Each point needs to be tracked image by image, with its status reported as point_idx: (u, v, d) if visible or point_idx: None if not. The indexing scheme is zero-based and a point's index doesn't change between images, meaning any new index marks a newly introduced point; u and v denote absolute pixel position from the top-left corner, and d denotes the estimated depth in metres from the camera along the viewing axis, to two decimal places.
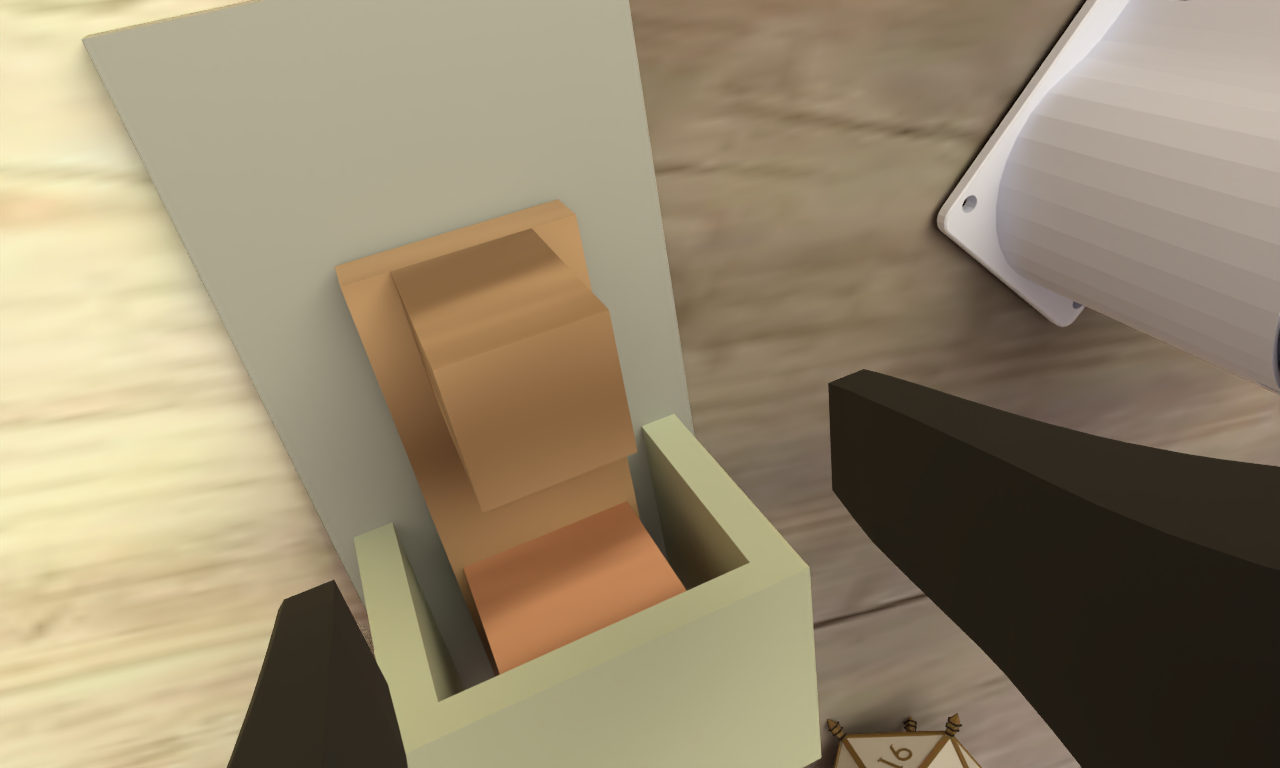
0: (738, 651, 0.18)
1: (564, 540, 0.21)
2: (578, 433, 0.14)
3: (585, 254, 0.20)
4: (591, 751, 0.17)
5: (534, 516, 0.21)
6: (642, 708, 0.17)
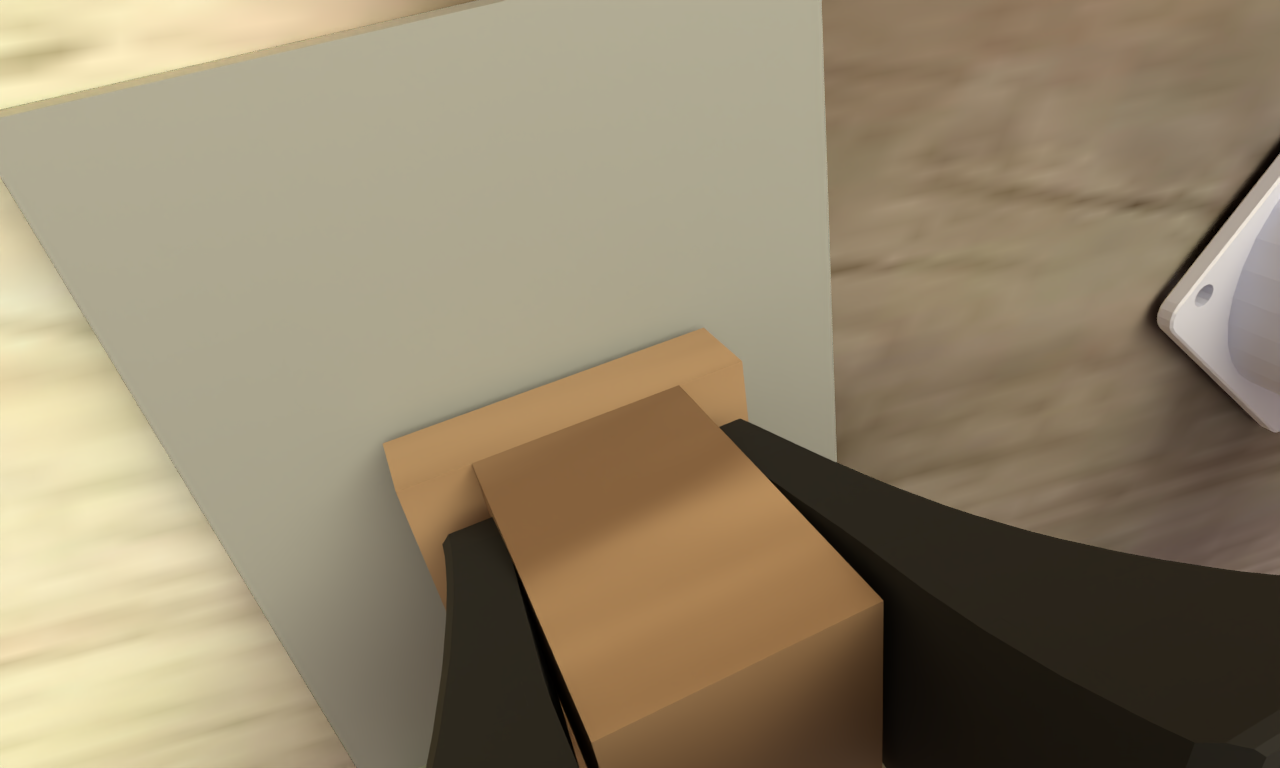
0: None
1: None
2: None
3: None
4: None
5: None
6: None
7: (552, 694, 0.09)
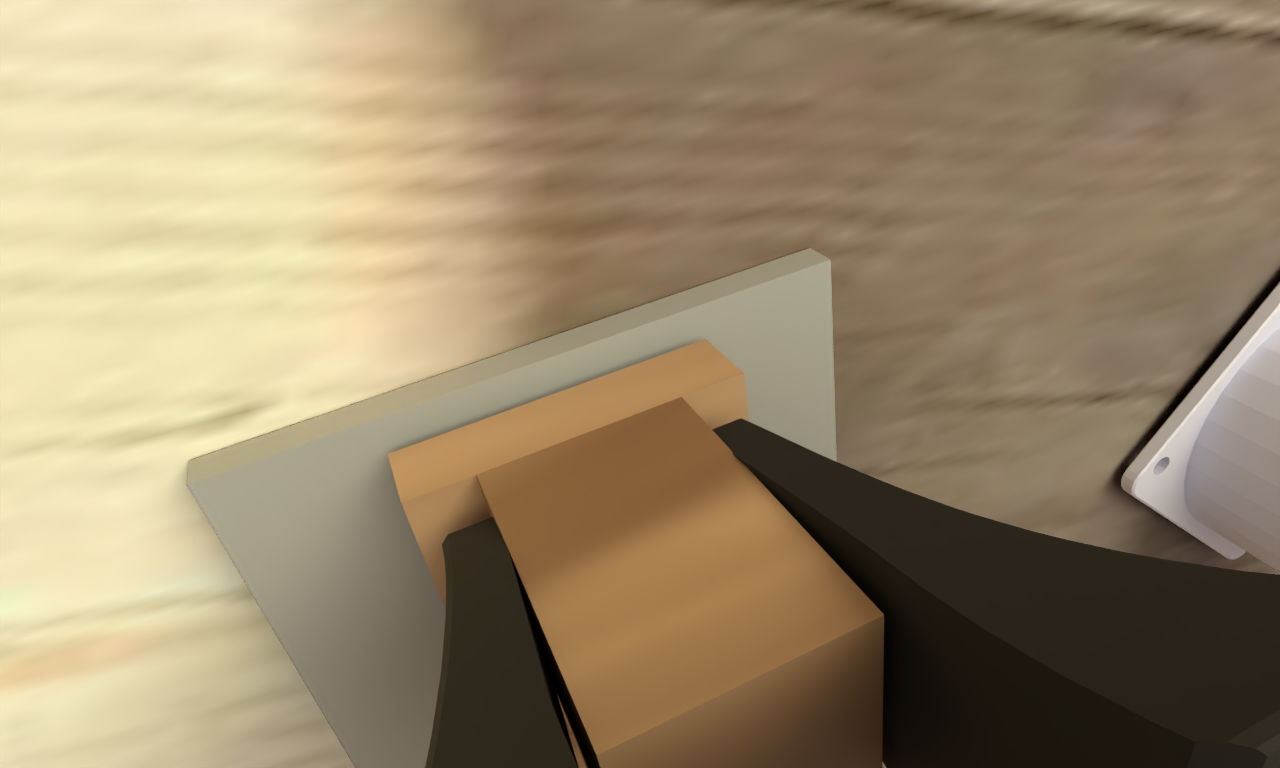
0: None
1: None
2: None
3: None
4: None
5: None
6: None
7: (551, 694, 0.09)
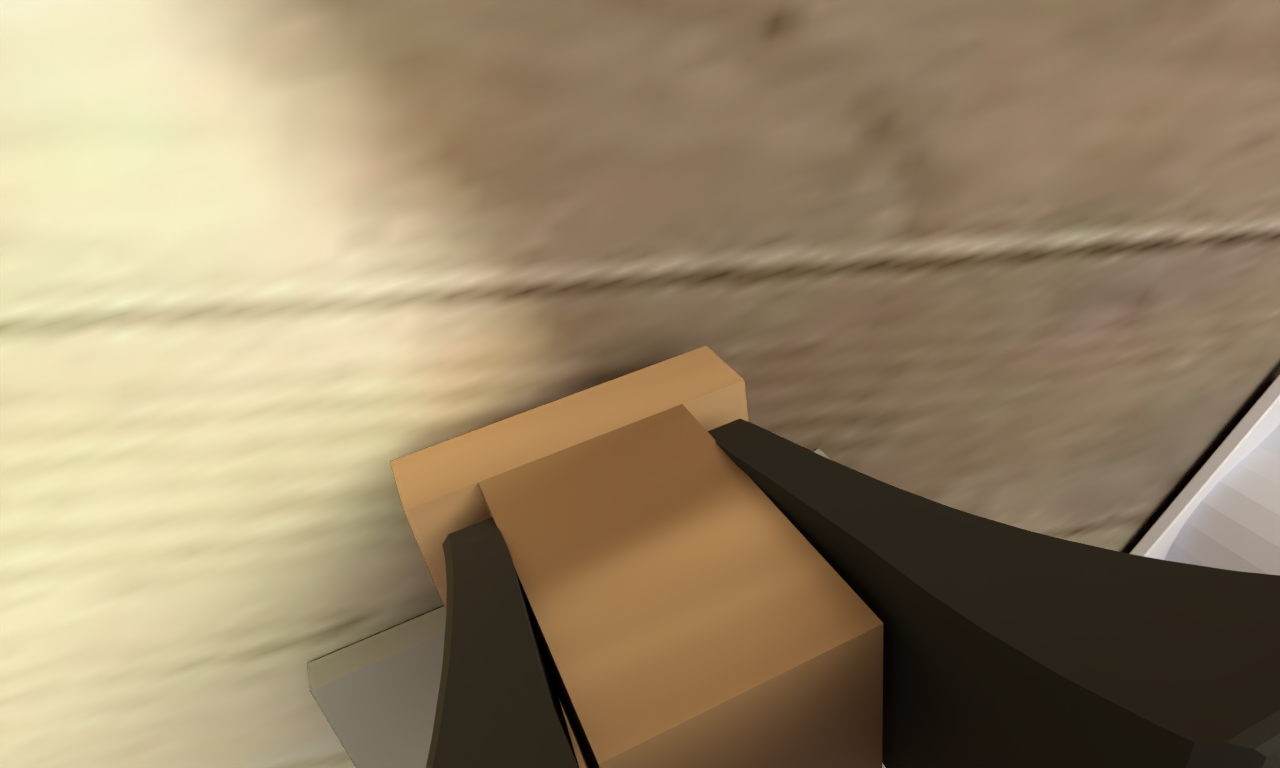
0: None
1: None
2: None
3: None
4: None
5: None
6: None
7: (552, 694, 0.09)
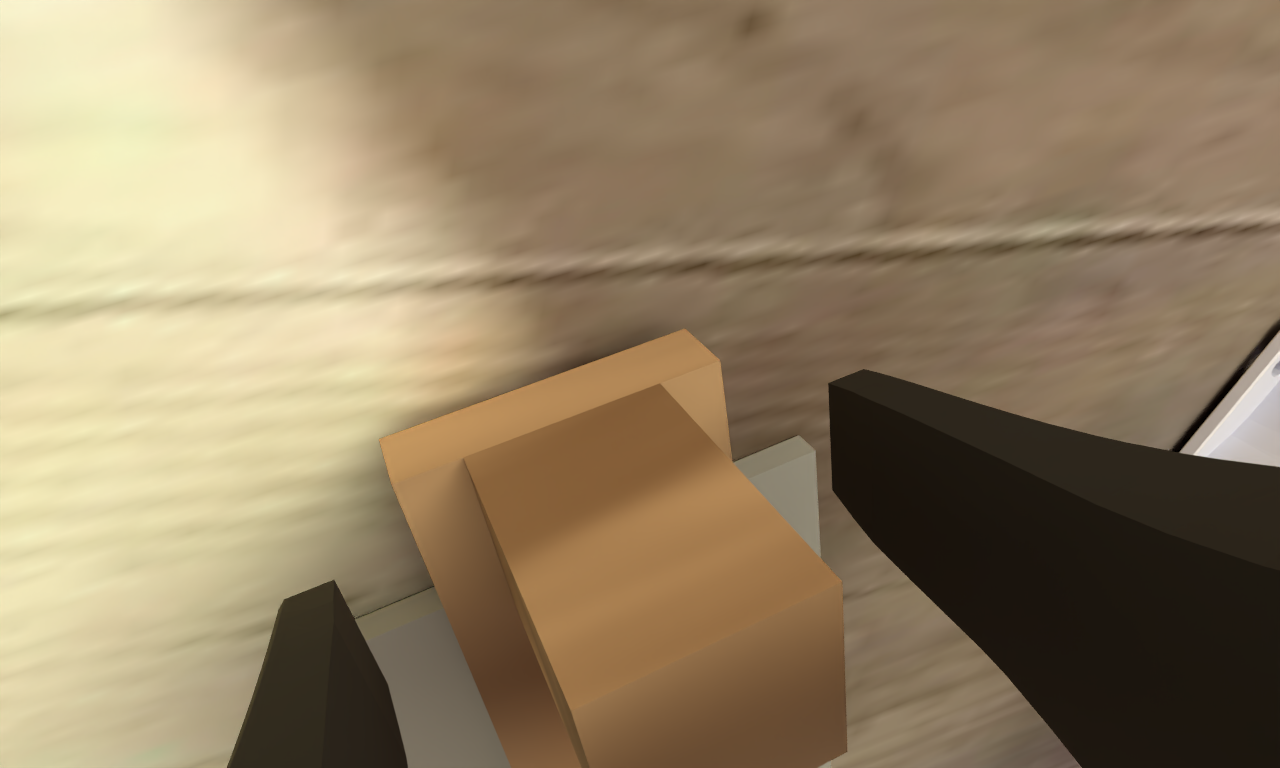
0: None
1: None
2: (772, 747, 0.09)
3: None
4: None
5: None
6: None
7: None
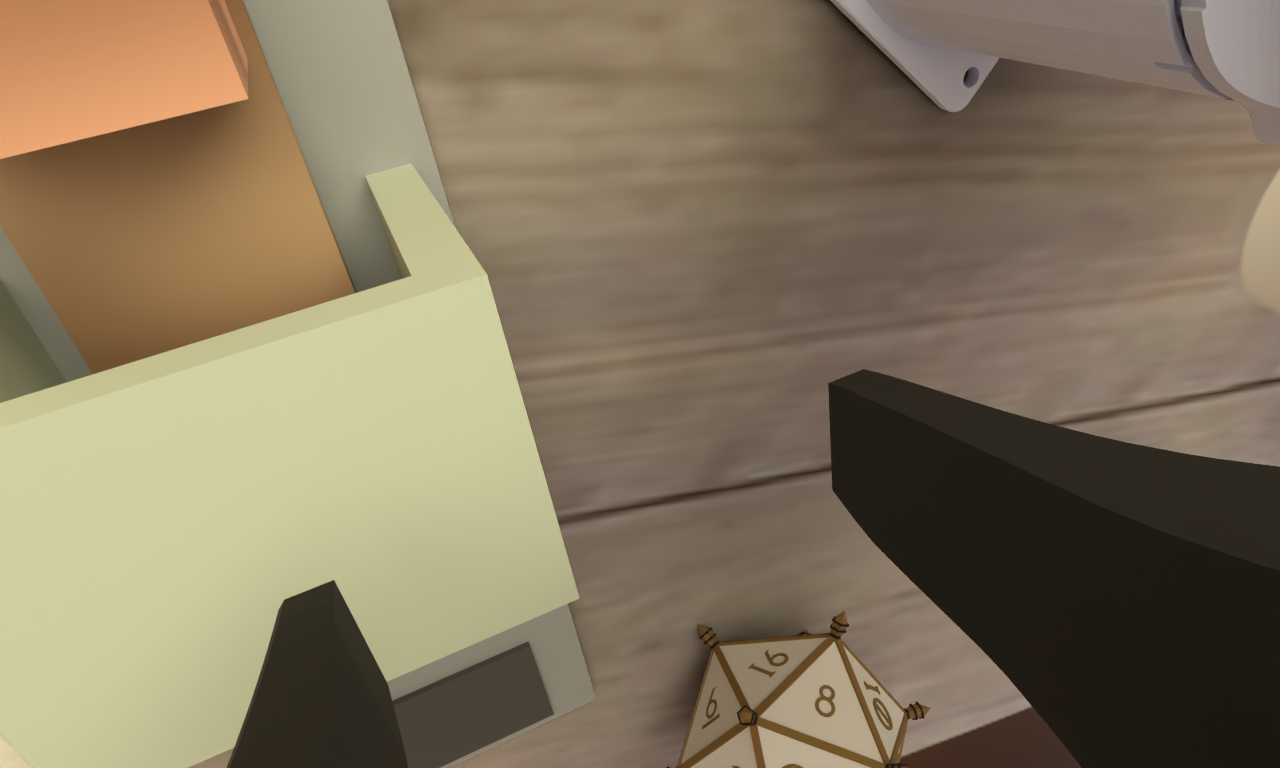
0: (394, 403, 0.12)
1: None
2: None
3: None
4: (169, 537, 0.12)
5: None
6: (243, 475, 0.12)
7: None
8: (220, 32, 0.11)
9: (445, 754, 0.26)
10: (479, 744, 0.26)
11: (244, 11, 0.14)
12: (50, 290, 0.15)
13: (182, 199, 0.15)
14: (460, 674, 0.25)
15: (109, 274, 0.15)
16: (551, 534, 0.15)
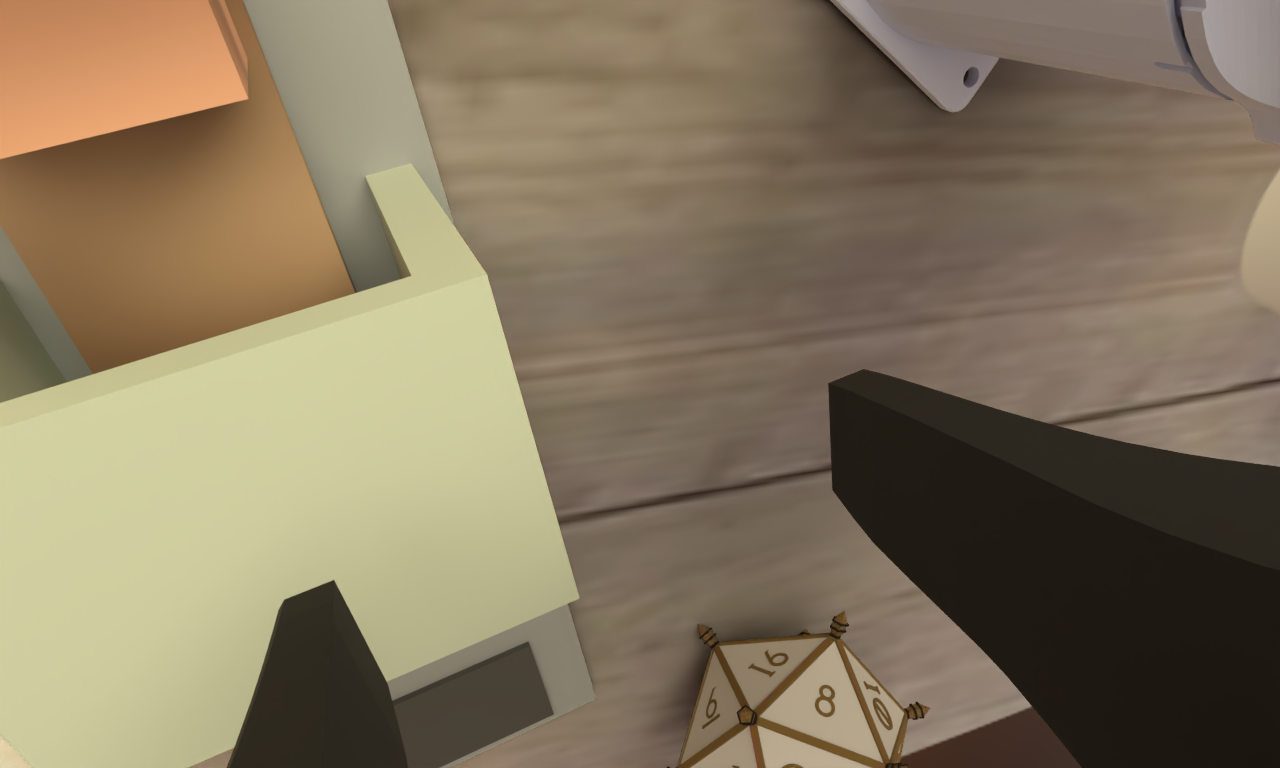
0: (394, 403, 0.12)
1: None
2: None
3: None
4: (169, 537, 0.12)
5: None
6: (243, 475, 0.12)
7: None
8: (220, 32, 0.11)
9: (445, 754, 0.26)
10: (479, 744, 0.26)
11: (244, 11, 0.14)
12: (50, 290, 0.15)
13: (182, 199, 0.15)
14: (460, 674, 0.25)
15: (109, 274, 0.15)
16: (551, 534, 0.15)
